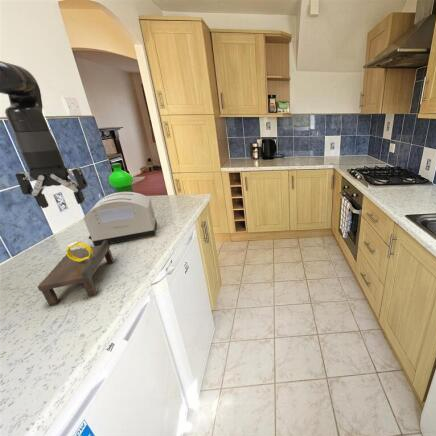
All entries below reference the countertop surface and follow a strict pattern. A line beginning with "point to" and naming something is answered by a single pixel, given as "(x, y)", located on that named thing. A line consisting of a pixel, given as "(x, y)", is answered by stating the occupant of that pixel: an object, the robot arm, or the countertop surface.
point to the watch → (78, 245)
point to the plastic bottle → (120, 179)
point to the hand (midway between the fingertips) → (63, 205)
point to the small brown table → (75, 271)
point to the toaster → (121, 218)
